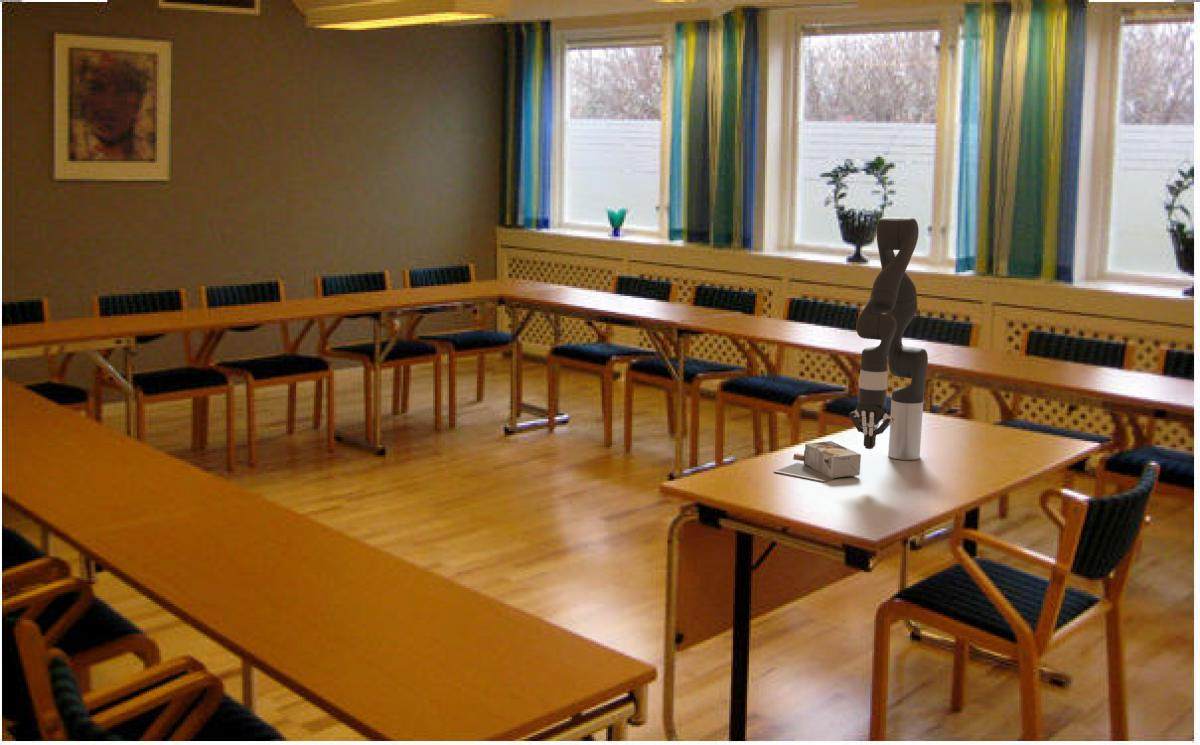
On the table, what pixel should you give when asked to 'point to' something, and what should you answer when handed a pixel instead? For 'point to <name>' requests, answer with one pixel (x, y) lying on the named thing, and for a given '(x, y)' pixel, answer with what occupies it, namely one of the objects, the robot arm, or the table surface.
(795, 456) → the walnut turner
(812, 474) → the mat
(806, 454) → the coffee box
